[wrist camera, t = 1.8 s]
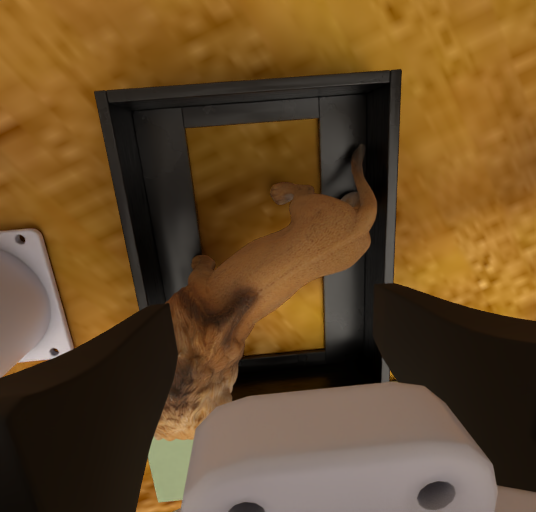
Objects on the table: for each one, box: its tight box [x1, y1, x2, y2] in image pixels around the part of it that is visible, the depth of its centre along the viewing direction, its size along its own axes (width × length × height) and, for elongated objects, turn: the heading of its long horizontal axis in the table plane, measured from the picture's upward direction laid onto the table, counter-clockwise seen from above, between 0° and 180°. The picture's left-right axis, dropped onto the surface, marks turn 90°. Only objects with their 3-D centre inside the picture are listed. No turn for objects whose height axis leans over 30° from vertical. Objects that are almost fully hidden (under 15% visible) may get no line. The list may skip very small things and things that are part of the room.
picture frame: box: [94, 69, 402, 401], centre depth 19 cm, size 13×17×3 cm
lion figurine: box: [154, 144, 377, 441], centre depth 15 cm, size 15×5×9 cm, turn 138°
